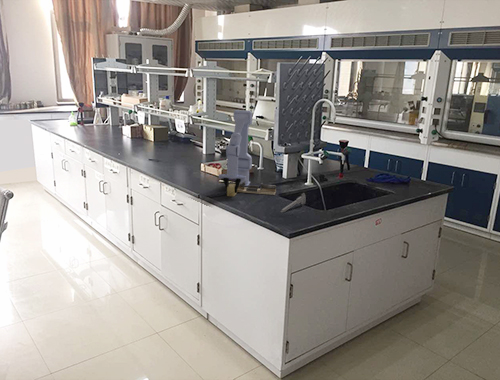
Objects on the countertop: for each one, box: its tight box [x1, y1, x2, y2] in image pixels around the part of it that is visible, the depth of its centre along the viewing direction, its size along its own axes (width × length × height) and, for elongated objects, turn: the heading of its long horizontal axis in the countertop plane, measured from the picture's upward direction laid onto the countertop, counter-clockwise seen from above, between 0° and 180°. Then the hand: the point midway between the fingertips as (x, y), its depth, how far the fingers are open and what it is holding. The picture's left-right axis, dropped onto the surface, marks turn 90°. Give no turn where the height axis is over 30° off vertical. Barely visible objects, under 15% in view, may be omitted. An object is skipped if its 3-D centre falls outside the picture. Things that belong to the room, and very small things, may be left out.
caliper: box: [280, 192, 306, 213], centre depth 205 cm, size 20×1×6 cm, turn 140°
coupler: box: [226, 183, 237, 197], centre depth 224 cm, size 4×7×5 cm, turn 171°
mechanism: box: [229, 181, 277, 196], centre depth 231 cm, size 7×26×5 cm, turn 81°
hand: (231, 191), depth 224 cm, fingers closed on coupler, 4 cm apart
